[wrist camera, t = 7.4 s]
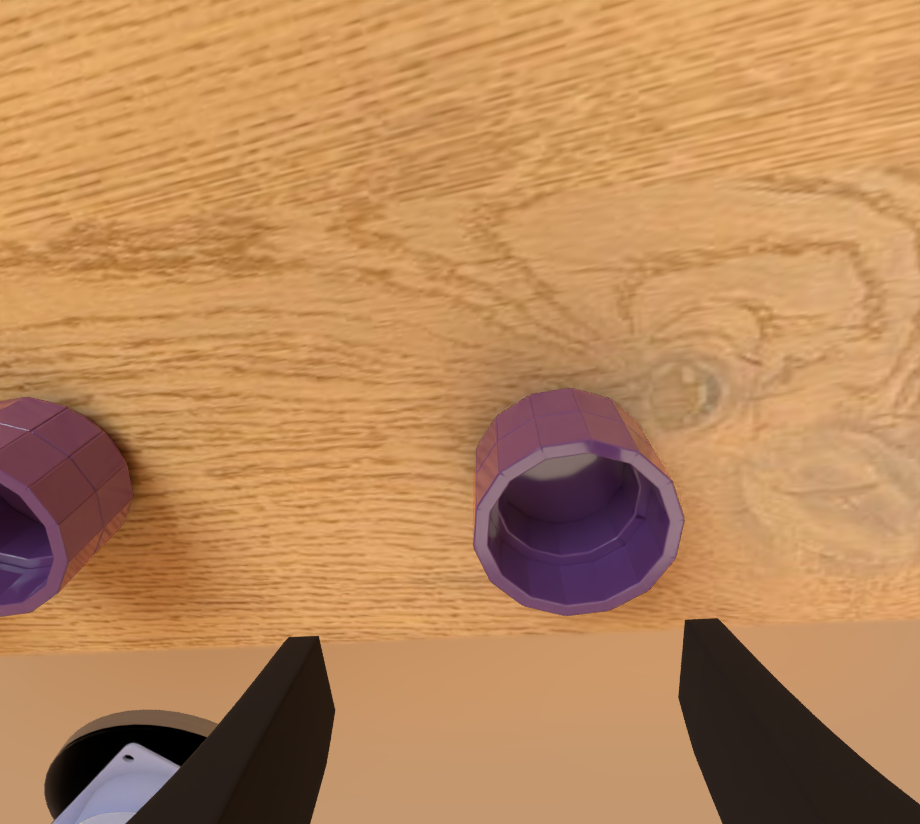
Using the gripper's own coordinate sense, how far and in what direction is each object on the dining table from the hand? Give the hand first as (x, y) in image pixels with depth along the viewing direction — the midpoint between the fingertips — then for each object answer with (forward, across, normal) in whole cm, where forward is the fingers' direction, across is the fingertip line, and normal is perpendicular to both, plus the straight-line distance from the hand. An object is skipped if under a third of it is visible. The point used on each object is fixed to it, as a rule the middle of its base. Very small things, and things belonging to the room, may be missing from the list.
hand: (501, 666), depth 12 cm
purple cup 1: (+8, +14, -1) cm, 17 cm away
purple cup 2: (+8, -2, 0) cm, 9 cm away
